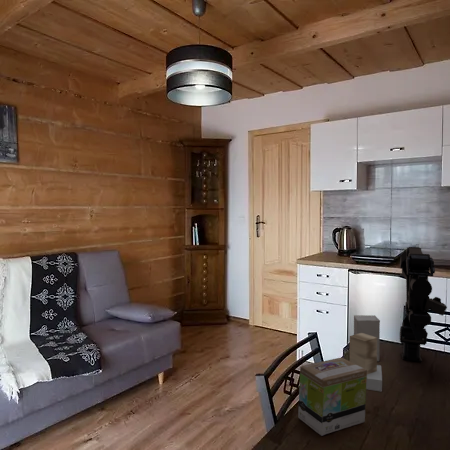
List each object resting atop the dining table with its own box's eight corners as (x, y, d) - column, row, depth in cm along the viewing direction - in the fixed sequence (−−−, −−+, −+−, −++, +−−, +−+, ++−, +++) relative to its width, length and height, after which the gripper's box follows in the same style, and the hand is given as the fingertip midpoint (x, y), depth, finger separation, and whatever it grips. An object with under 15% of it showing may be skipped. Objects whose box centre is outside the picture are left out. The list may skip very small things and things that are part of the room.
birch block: (361, 364, 135) (361, 332, 134) (376, 370, 130) (377, 337, 129) (349, 368, 132) (349, 336, 131) (364, 375, 127) (364, 341, 126)
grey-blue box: (343, 371, 139) (344, 360, 139) (380, 377, 135) (381, 365, 134) (341, 386, 128) (341, 374, 127) (381, 393, 123) (382, 380, 123)
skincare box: (375, 355, 152) (376, 315, 151) (380, 362, 146) (381, 320, 145) (352, 354, 153) (353, 314, 152) (356, 361, 147) (357, 319, 146)
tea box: (322, 438, 99) (323, 380, 98) (297, 418, 108) (298, 365, 107) (366, 422, 106) (367, 368, 105) (339, 405, 115) (340, 355, 114)
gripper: (450, 299, 123) (448, 348, 124) (440, 286, 141) (439, 330, 142) (410, 296, 127) (409, 344, 128) (405, 284, 144) (404, 326, 145)
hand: (416, 336), depth 136 cm, fingers open, 9 cm apart
